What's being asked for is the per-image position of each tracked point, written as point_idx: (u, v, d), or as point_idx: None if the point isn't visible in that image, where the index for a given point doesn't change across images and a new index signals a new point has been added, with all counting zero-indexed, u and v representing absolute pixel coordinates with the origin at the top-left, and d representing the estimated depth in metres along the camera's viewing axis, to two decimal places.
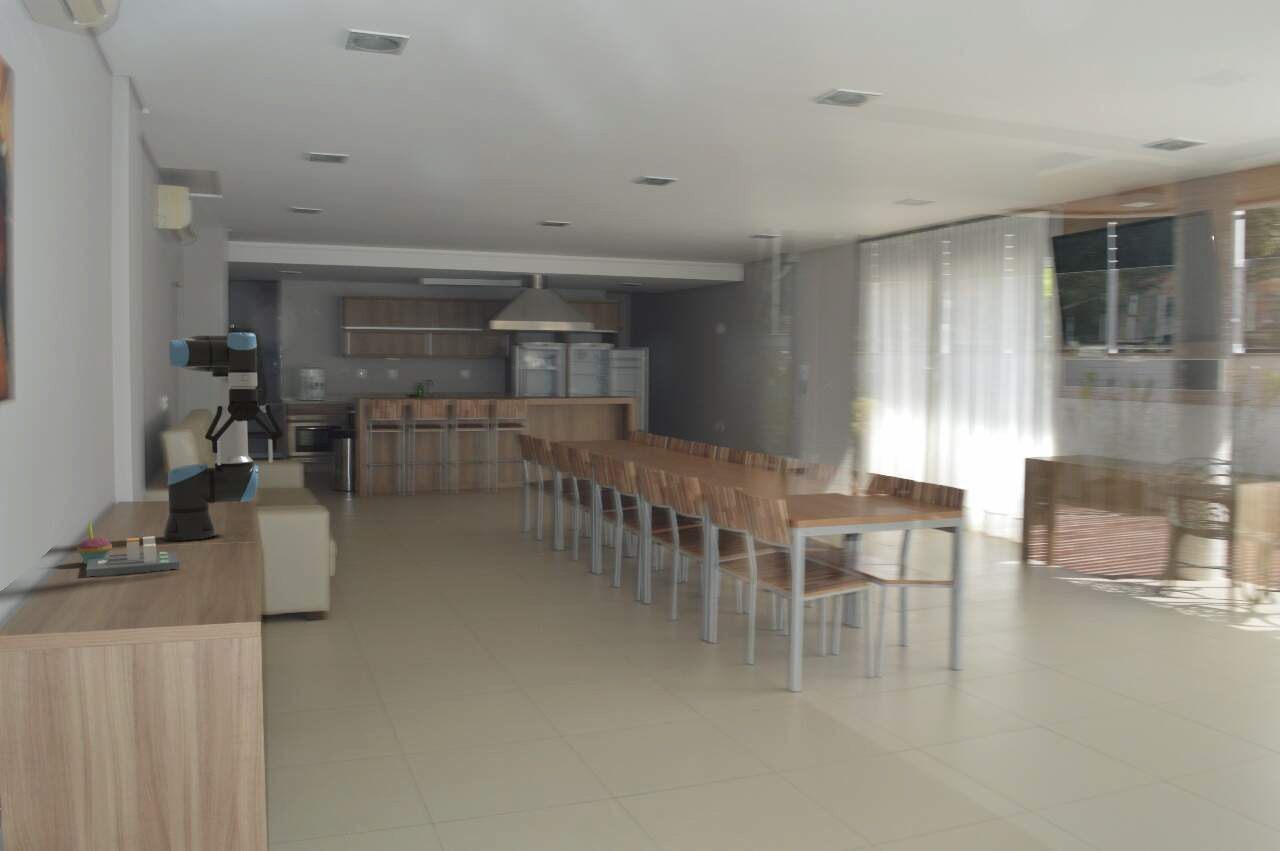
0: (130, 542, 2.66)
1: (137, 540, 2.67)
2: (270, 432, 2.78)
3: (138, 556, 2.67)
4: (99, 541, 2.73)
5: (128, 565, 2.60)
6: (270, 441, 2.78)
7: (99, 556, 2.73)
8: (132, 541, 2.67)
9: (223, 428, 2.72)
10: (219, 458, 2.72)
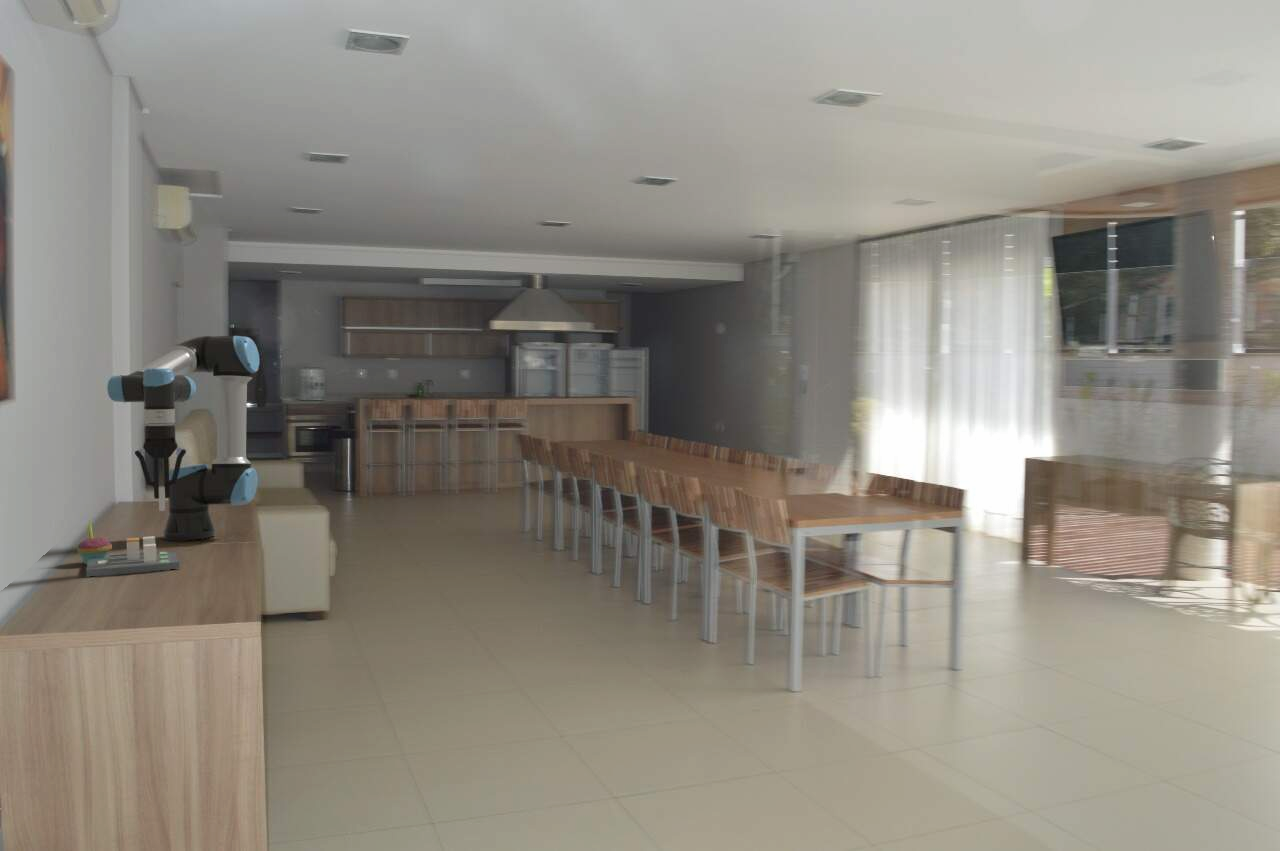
0: (130, 542, 2.66)
1: (137, 540, 2.67)
2: (167, 478, 2.70)
3: (138, 556, 2.67)
4: (99, 541, 2.73)
5: (128, 565, 2.60)
6: (162, 488, 2.69)
7: (99, 556, 2.73)
8: (132, 541, 2.67)
9: (155, 471, 2.68)
10: (161, 504, 2.69)
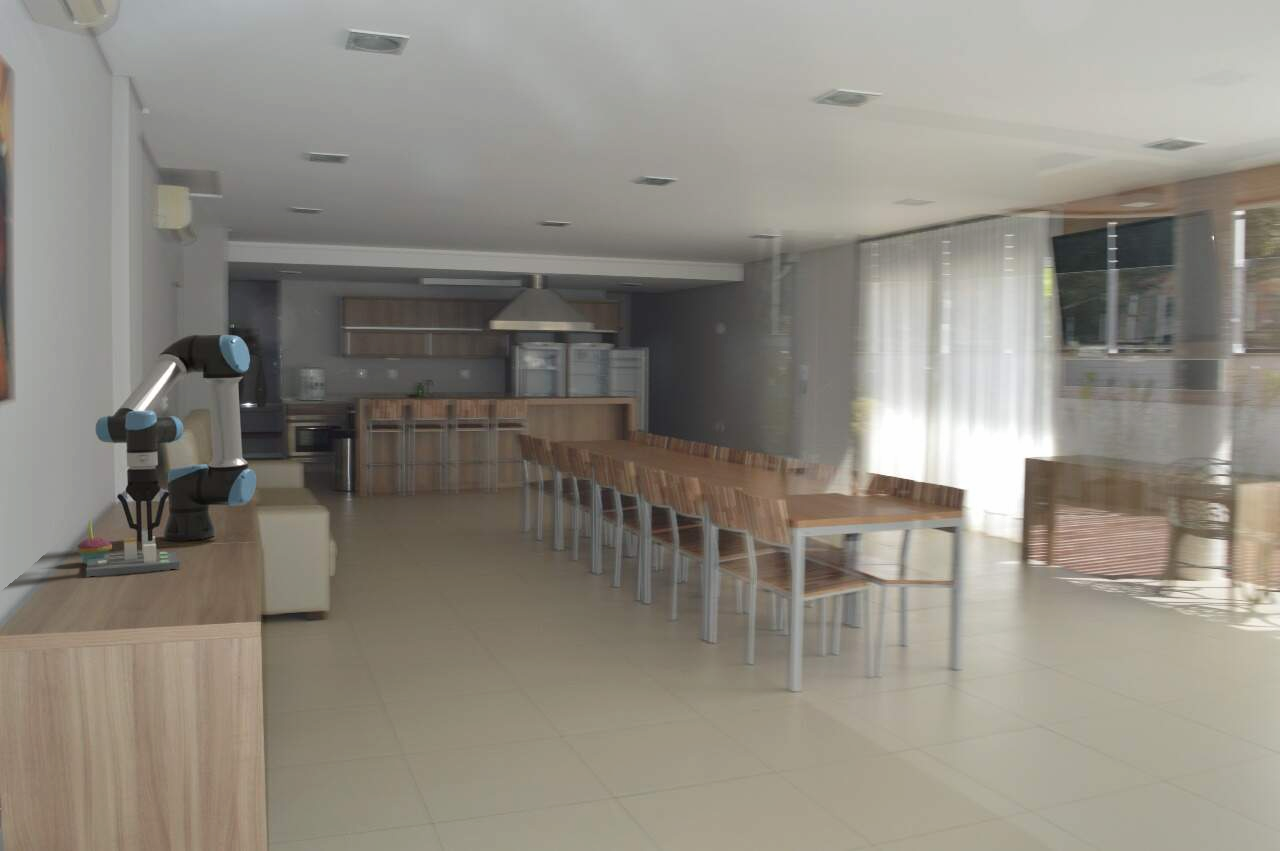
0: (127, 542, 2.66)
1: (134, 540, 2.67)
2: (150, 521, 2.69)
3: (135, 556, 2.67)
4: (99, 541, 2.73)
5: (128, 565, 2.60)
6: (145, 531, 2.68)
7: (99, 556, 2.73)
8: (129, 541, 2.66)
9: (138, 514, 2.67)
10: None
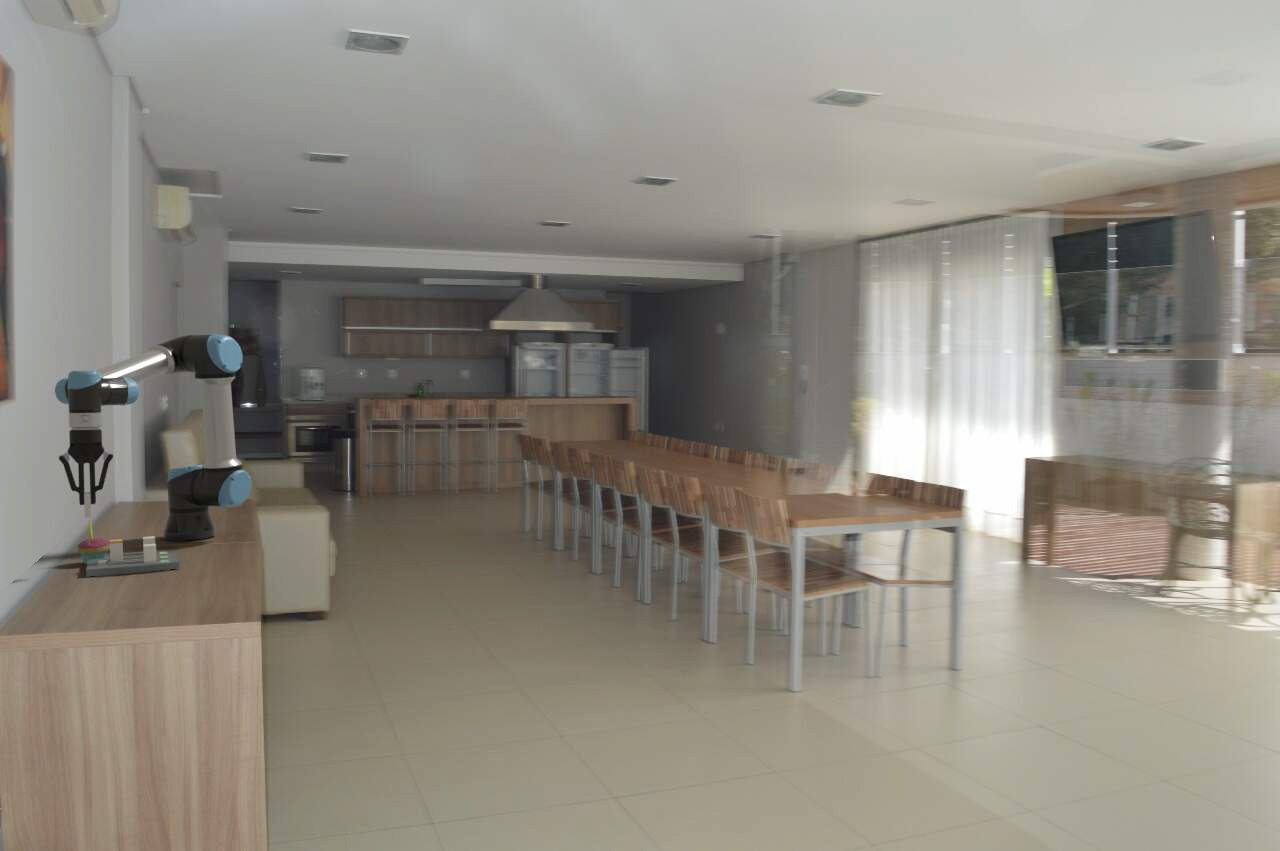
0: (113, 543, 2.64)
1: (120, 541, 2.65)
2: (93, 484, 2.62)
3: (121, 557, 2.66)
4: (99, 541, 2.73)
5: (128, 565, 2.60)
6: (88, 494, 2.61)
7: (99, 556, 2.73)
8: (115, 542, 2.65)
9: (80, 477, 2.60)
10: (86, 510, 2.61)
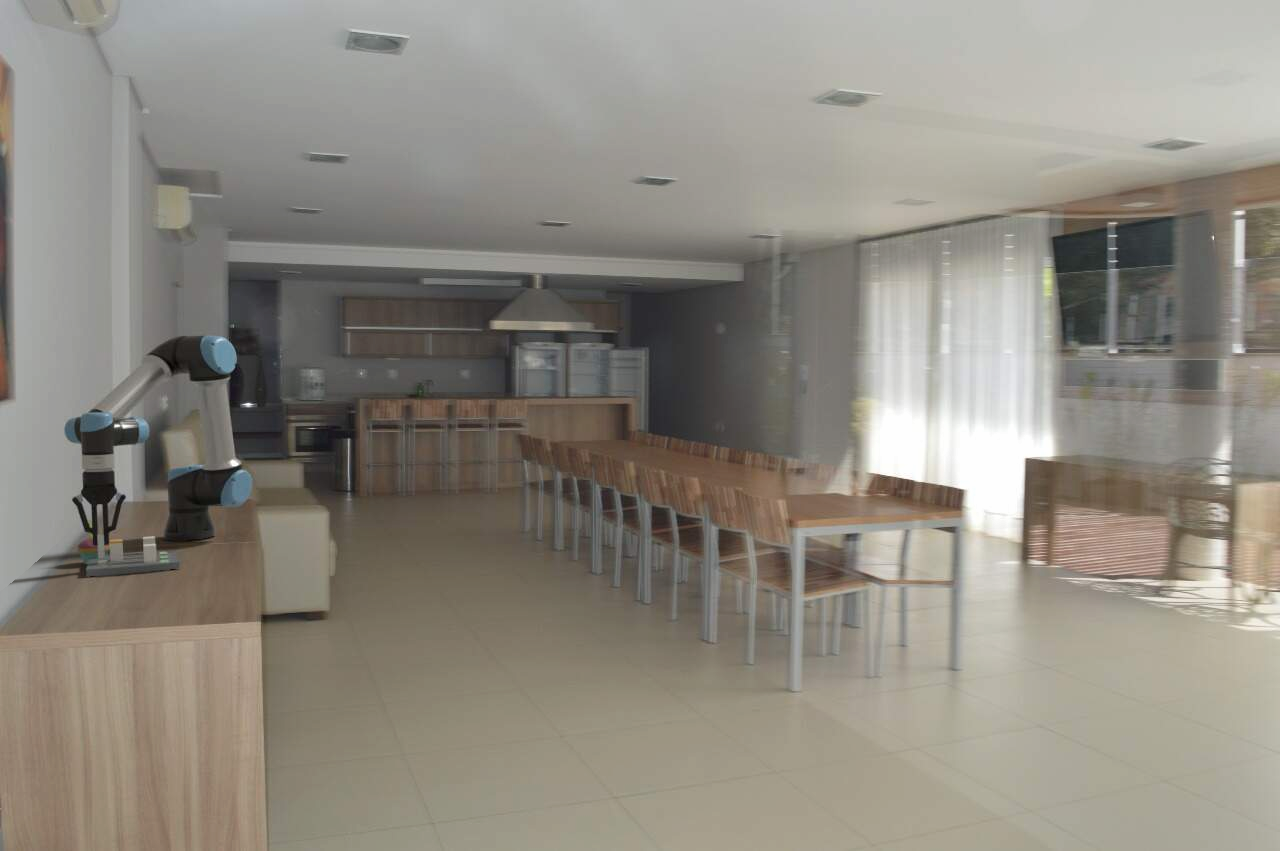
0: (113, 543, 2.64)
1: (120, 541, 2.65)
2: (106, 525, 2.64)
3: (121, 557, 2.66)
4: None
5: (128, 565, 2.60)
6: (101, 535, 2.63)
7: None
8: (115, 542, 2.65)
9: (93, 518, 2.62)
10: (99, 551, 2.63)
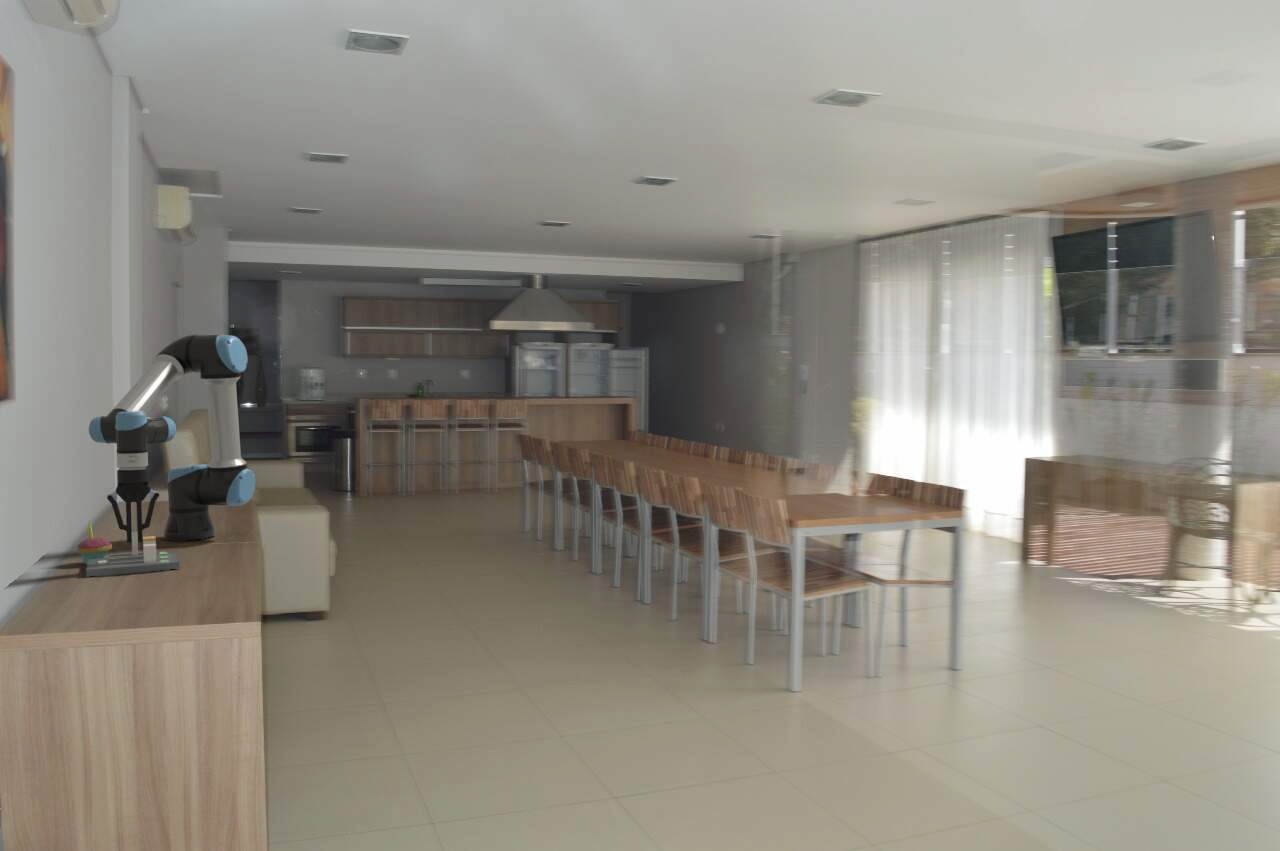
0: (147, 541, 2.68)
1: (154, 539, 2.69)
2: (140, 522, 2.67)
3: None
4: (99, 541, 2.73)
5: (128, 565, 2.60)
6: (135, 532, 2.67)
7: (99, 556, 2.73)
8: (149, 540, 2.68)
9: (128, 515, 2.66)
10: (133, 548, 2.67)
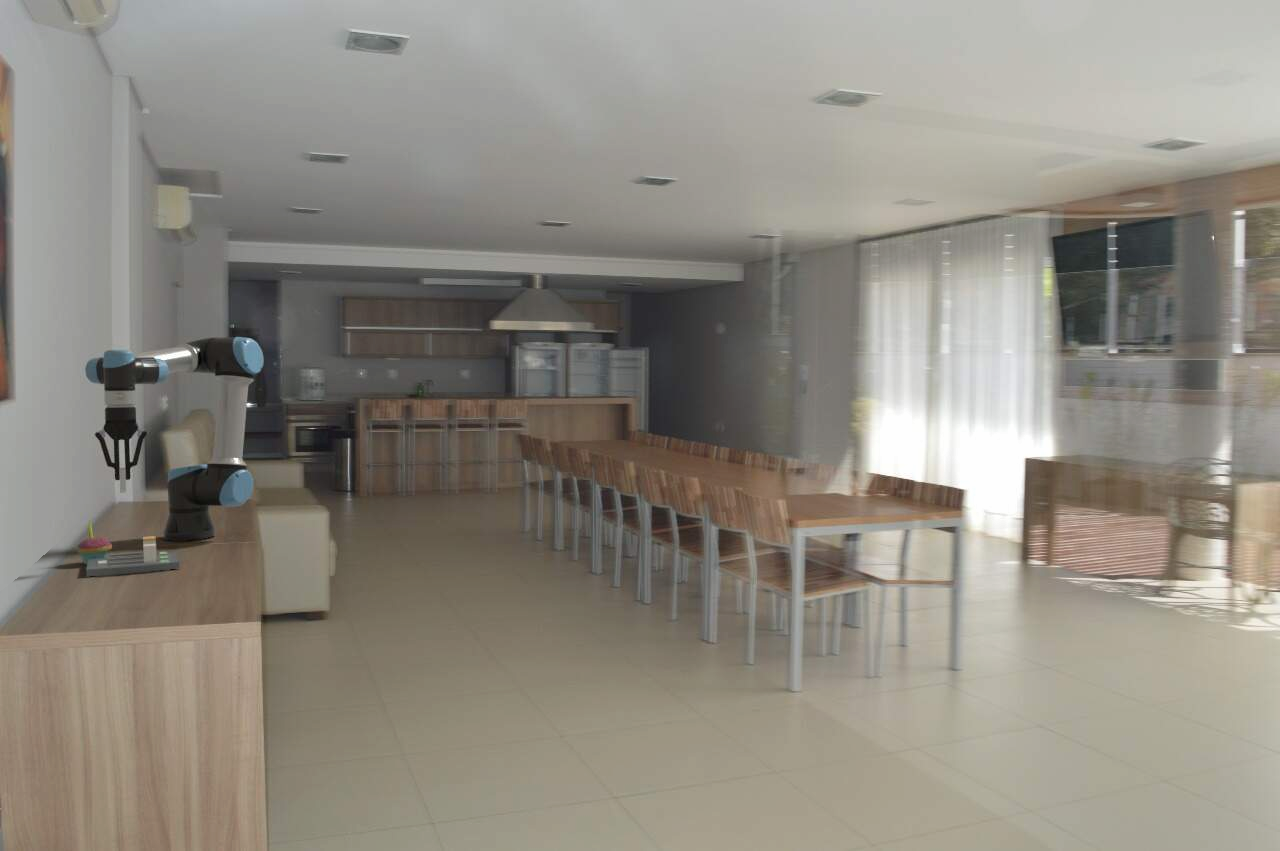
0: (147, 541, 2.68)
1: (154, 539, 2.69)
2: (128, 460, 2.70)
3: None
4: (99, 541, 2.73)
5: (128, 565, 2.60)
6: (123, 470, 2.69)
7: (99, 556, 2.73)
8: (149, 540, 2.68)
9: (115, 453, 2.68)
10: (121, 485, 2.69)
